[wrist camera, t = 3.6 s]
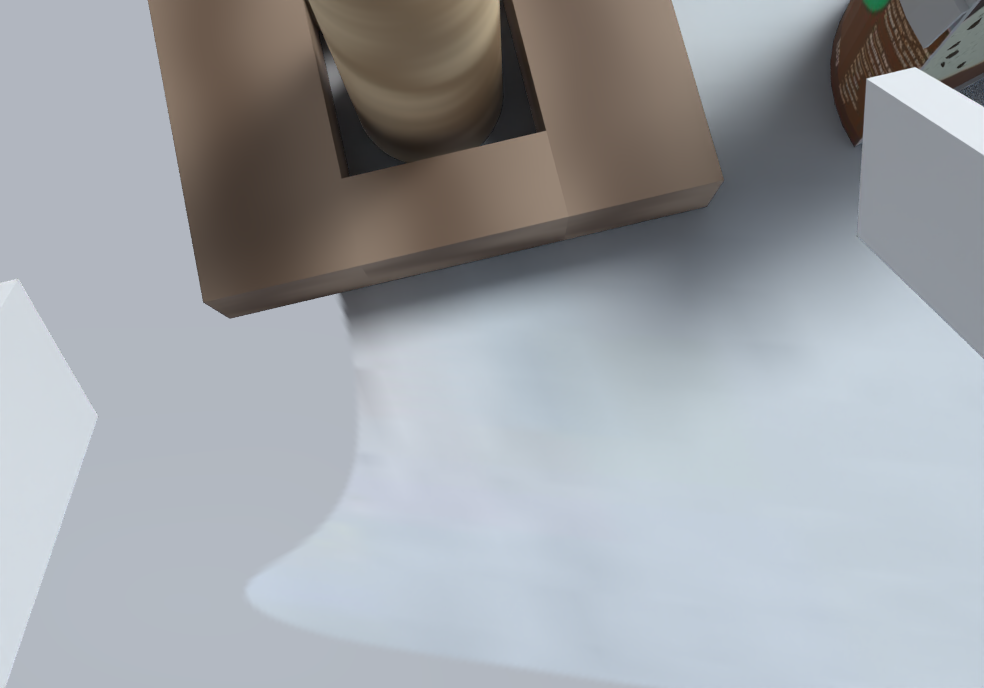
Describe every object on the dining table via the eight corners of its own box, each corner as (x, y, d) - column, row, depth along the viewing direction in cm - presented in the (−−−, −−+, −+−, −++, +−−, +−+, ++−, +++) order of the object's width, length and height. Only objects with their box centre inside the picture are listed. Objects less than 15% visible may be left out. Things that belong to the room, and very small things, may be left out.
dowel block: (614, -114, 31) (623, -166, 29) (706, 206, 29) (724, 180, 27) (167, -11, 31) (137, -54, 29) (229, 318, 29) (203, 302, 27)
